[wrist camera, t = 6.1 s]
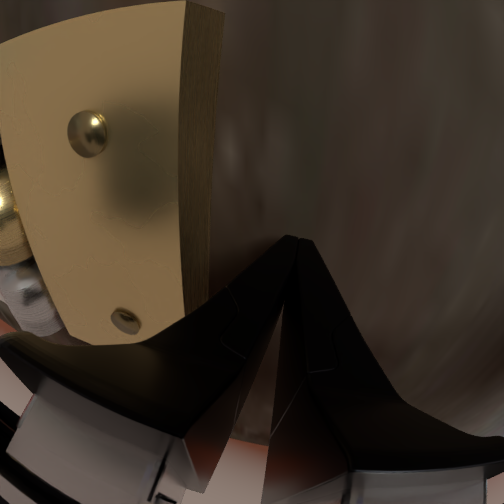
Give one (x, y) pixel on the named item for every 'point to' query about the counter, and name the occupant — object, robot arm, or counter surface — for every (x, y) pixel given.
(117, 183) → the brass leaf
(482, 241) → the counter surface
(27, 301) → the steel leaf
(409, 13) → the counter surface
